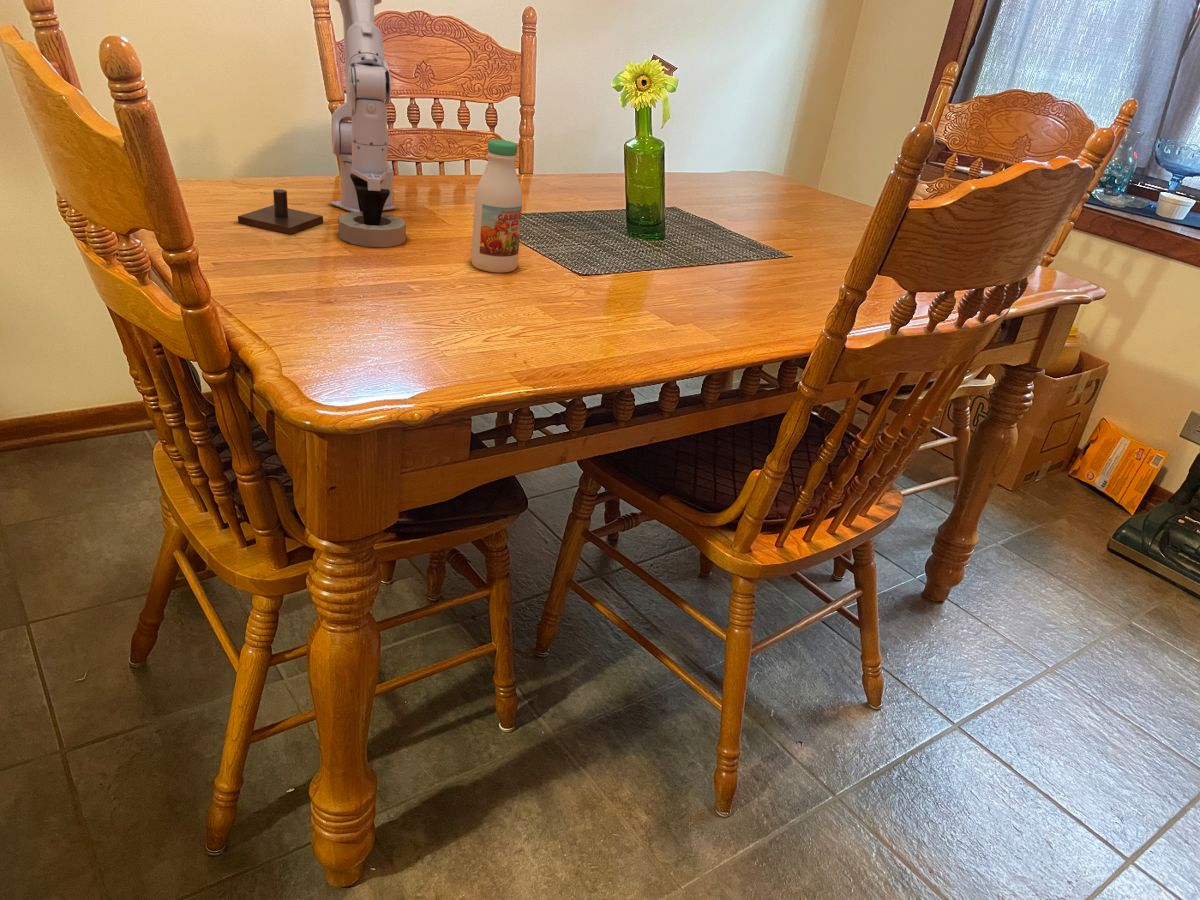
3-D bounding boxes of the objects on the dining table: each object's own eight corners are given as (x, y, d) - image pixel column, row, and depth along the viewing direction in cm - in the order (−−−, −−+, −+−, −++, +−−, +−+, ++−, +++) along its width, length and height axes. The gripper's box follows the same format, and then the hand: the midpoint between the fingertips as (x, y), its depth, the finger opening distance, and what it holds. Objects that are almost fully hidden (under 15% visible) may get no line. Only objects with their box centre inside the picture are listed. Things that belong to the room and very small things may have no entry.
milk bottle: (462, 266, 136) (469, 139, 126) (484, 256, 142) (492, 134, 133) (503, 277, 134) (513, 149, 124) (524, 266, 140) (535, 144, 131)
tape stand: (273, 211, 148) (271, 180, 146) (323, 222, 147) (322, 191, 144) (238, 223, 140) (235, 190, 137) (290, 234, 138) (288, 201, 136)
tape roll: (378, 225, 150) (378, 209, 148) (417, 242, 144) (418, 225, 143) (326, 232, 142) (325, 215, 140) (365, 250, 136) (365, 232, 135)
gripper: (399, 153, 135) (398, 235, 141) (387, 135, 146) (387, 212, 153) (354, 149, 132) (355, 233, 139) (346, 132, 144) (347, 210, 150)
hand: (369, 222), depth 146 cm, fingers open, 7 cm apart
